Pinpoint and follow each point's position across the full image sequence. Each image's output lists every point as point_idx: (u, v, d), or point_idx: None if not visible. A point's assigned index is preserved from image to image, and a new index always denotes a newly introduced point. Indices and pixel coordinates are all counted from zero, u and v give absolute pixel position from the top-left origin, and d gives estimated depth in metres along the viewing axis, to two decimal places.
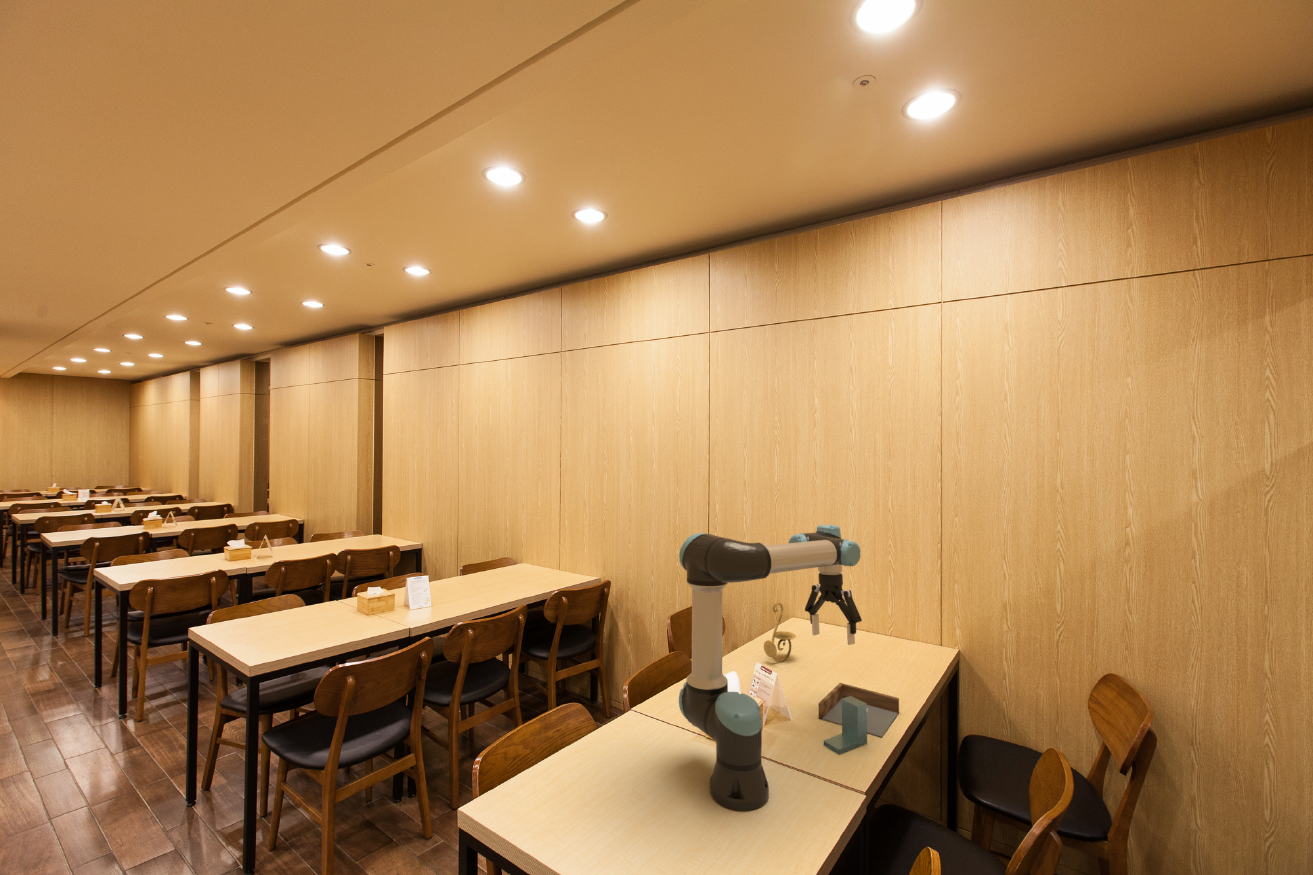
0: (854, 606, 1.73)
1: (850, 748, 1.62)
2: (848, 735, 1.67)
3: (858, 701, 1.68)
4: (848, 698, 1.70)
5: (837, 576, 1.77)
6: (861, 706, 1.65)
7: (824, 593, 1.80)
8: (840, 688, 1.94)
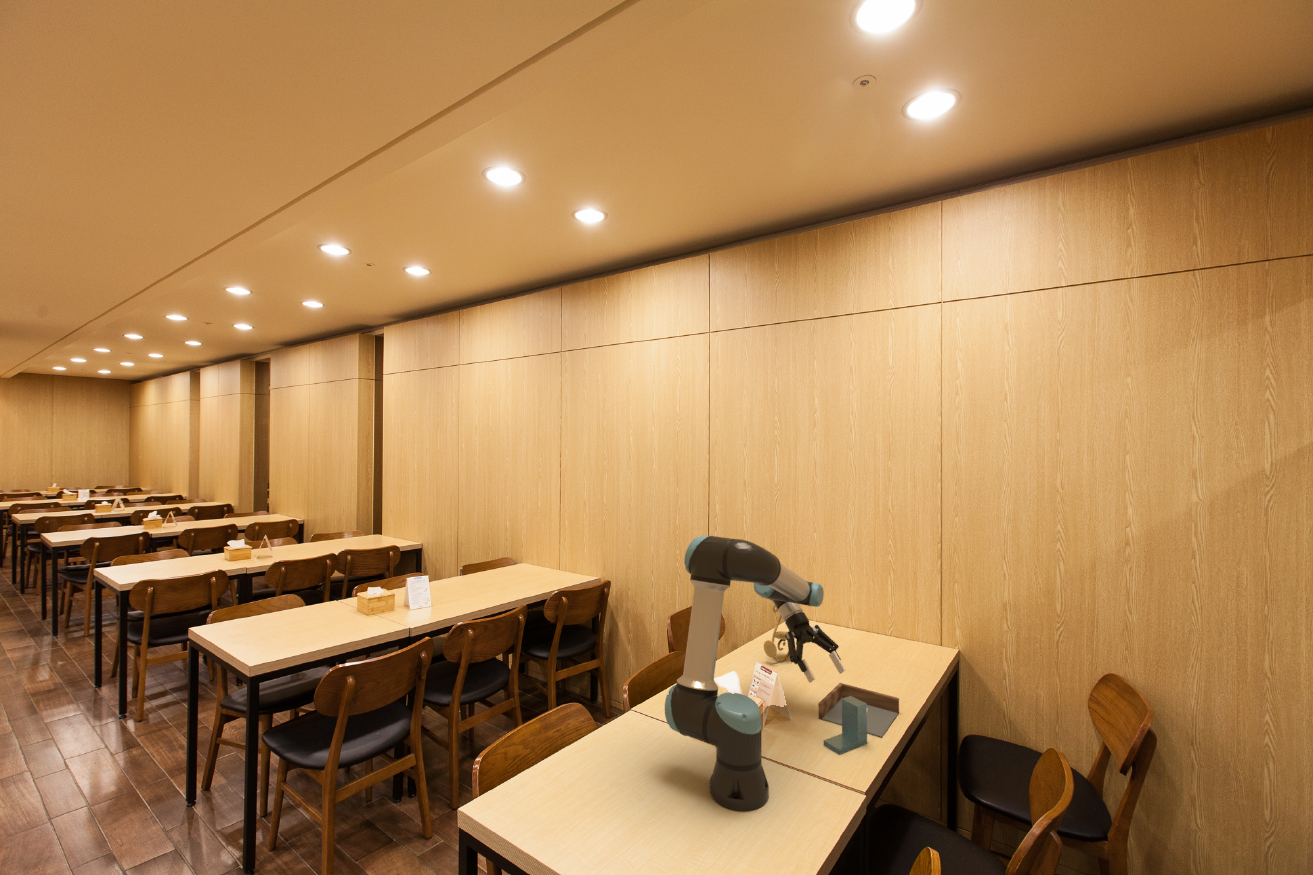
0: None
1: (850, 748, 1.62)
2: (848, 735, 1.67)
3: (858, 701, 1.68)
4: (848, 698, 1.70)
5: None
6: (861, 706, 1.65)
7: (804, 632, 1.84)
8: (840, 688, 1.94)
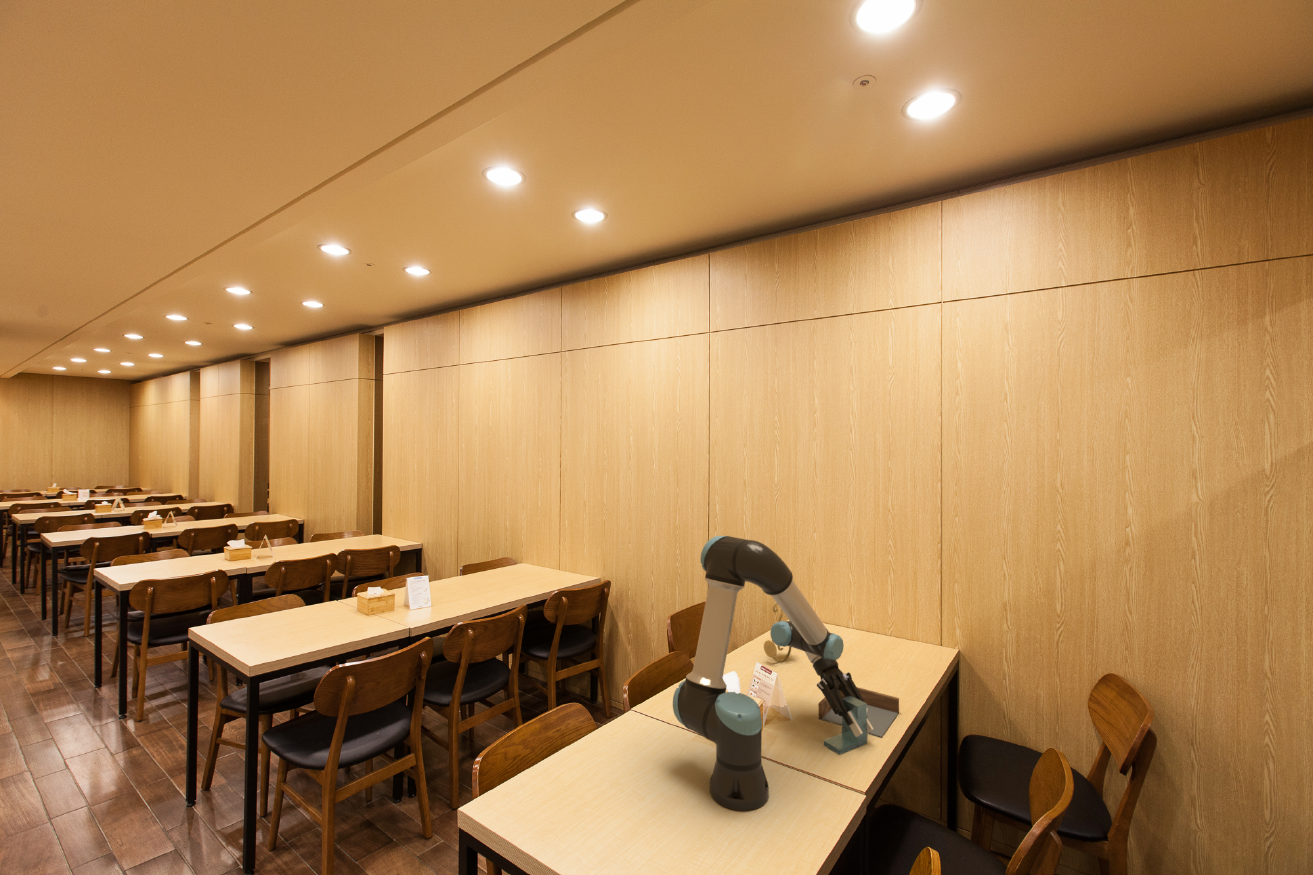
0: None
1: (850, 748, 1.62)
2: (848, 735, 1.67)
3: (858, 701, 1.68)
4: (848, 698, 1.70)
5: None
6: (861, 706, 1.65)
7: (834, 676, 1.73)
8: None
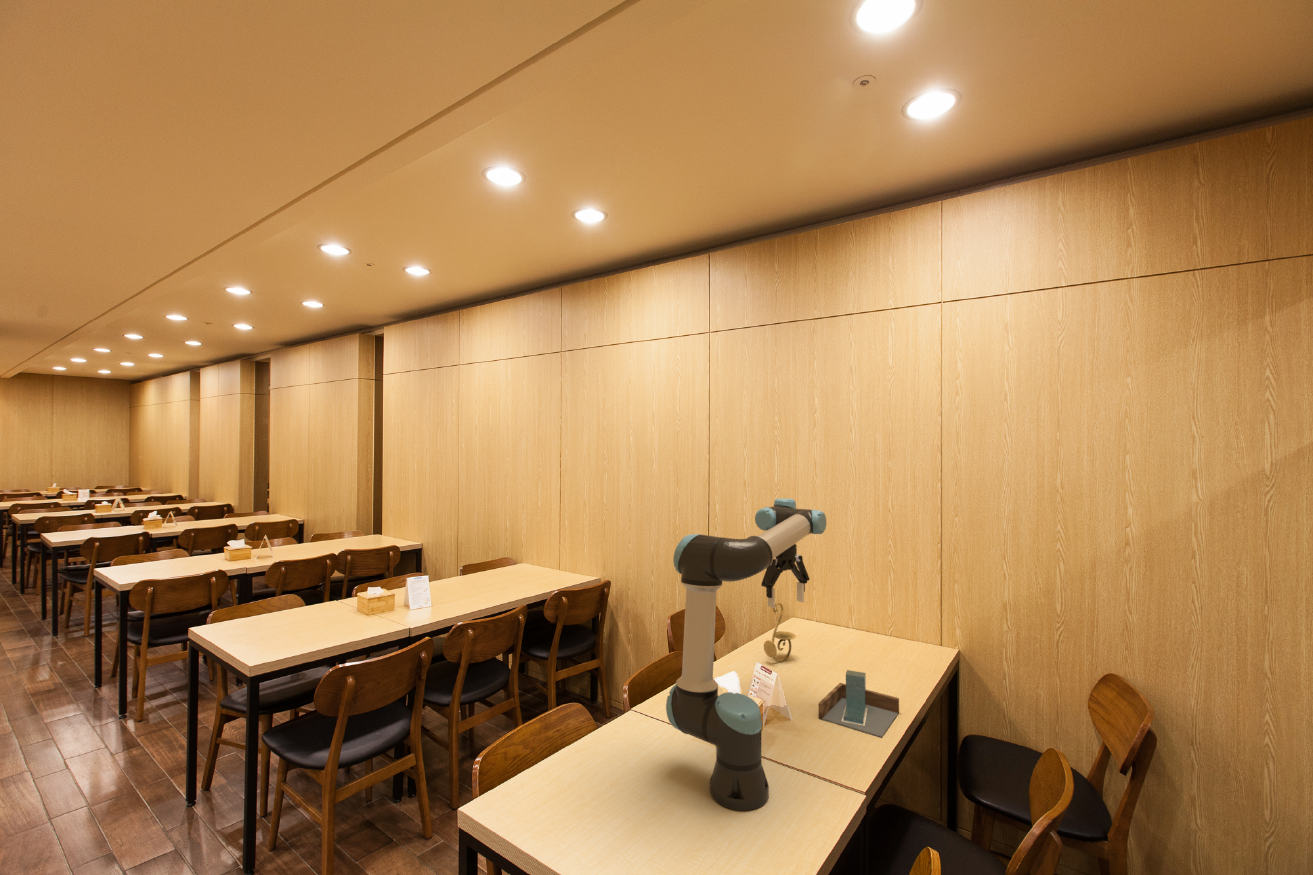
0: None
1: (864, 716, 1.81)
2: (853, 705, 1.85)
3: (858, 672, 1.88)
4: (849, 672, 1.88)
5: None
6: (864, 676, 1.86)
7: (787, 563, 1.90)
8: (840, 688, 1.94)
